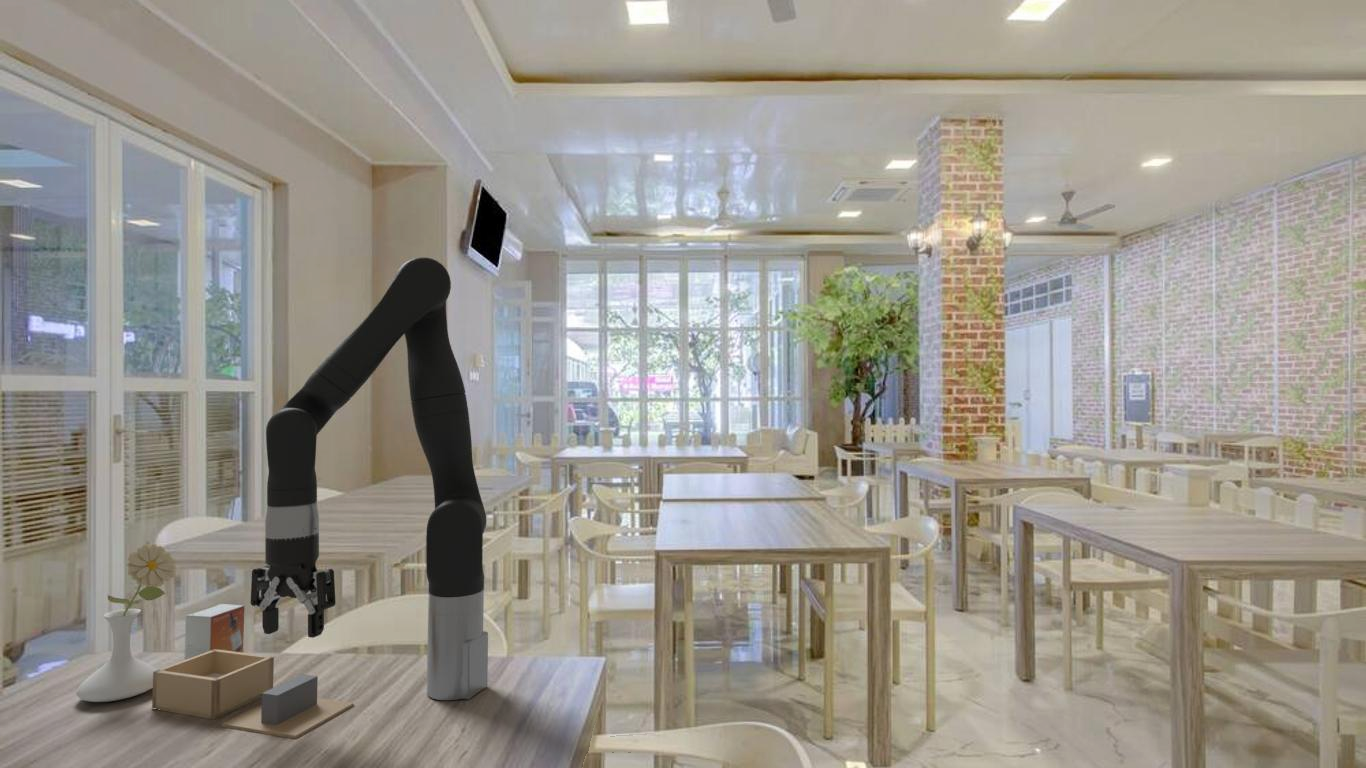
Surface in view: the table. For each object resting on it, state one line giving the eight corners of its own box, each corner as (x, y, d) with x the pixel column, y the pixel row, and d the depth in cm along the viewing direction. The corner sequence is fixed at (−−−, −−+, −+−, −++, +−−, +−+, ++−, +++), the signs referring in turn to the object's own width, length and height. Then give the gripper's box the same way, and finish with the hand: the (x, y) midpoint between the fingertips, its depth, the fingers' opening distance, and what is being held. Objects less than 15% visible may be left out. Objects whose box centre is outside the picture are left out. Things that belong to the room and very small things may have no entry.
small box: (208, 675, 128) (210, 617, 129) (183, 672, 130) (184, 615, 130) (244, 659, 136) (245, 604, 137) (219, 657, 137) (221, 603, 138)
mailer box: (273, 691, 121) (273, 656, 121) (214, 719, 111) (215, 680, 111) (214, 683, 125) (214, 649, 125) (152, 709, 114) (153, 671, 114)
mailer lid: (353, 709, 116) (354, 675, 116) (295, 742, 104) (296, 705, 105) (285, 699, 120) (285, 666, 120) (221, 730, 108) (222, 694, 108)
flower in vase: (86, 715, 112) (91, 556, 112) (67, 697, 119) (72, 547, 119) (182, 689, 122) (186, 544, 123) (160, 673, 129) (164, 536, 130)
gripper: (346, 529, 115) (347, 629, 114) (275, 526, 118) (275, 624, 118) (311, 538, 107) (311, 645, 107) (236, 535, 111) (236, 639, 111)
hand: (292, 634), depth 112 cm, fingers open, 8 cm apart
